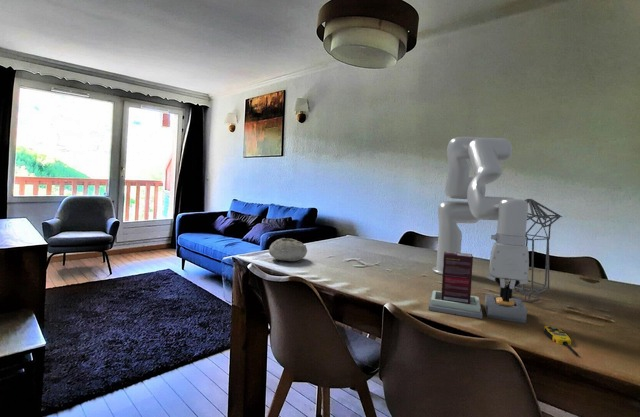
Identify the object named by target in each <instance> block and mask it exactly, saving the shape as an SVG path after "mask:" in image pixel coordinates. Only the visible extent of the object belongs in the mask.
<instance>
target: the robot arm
mask: <svg viewBox="0 0 640 417" xmlns="http://www.w3.org/2000/svg"><path fill="white" fill-rule="evenodd" d="M446 148H447V149H446V154H447V161H448V163H447V164H448V167H447V168H448V169H447V174H446V181H445V189H444V193H445V196H446V197H447V198H450V199H453V200H445V201H442V202H441V203H439V205H438V207H437V216H438V238H437V240H438V241H437V251H436V252H437V253H436V266H434V267H432V272H433V273H435V274H438V275H443V258H444V252H455V253H462V239H463V235H462V231H461V230H462V229H460V227H459V226H458V224H477V223H478V222H479V221H497V225H496V226H497V227H496V234H491V235H490V239H491V240H493V241H495V242H493V244H492V248H491V251H490V257H489V261H488V262H489V263H488V273H487V275H486V276H487V279H488V280H491V281H494V282H495V283H497V284H498V286H500V290H499V291H500V292H499V296H500V297H502V300H503V301H507V302H509V298H510V299H511V298H513V297H512V296H513V292H512V291H513V290H515V288H514V287H516V286H519V284H520V285H523V284H528V283H529V282H528V280H529V275H530V274H529V270H530V269H529V268H530V267H529V266H530V258H529V257H530V254H529V253H530V252H529V246H528V245H527V246H526V241H525V235H526V232H527V223H528V220H527V219H528V218H527V215H528V214H527V213H529V212H528V211H529V203H527V201H525V200H526V199H521V198H519V199H518V198H513V197H508V196H507V197H504V196H490V195H489V196H486V185H488V184H491V183H494V182H495V181H497V180H498V179H499V178H500V177H501V176H502V174H503V169H502V166H501V163H504V162H507V161H509V160H510V159H511V157H512V155H513V146H512V144H511V141H510V140H509V139H507V138H503V137H481V136H479V137H477V136H476V137H475V136H457V137H453V138H452V139H450V141H449V142H448V144H447V147H446ZM469 160H470V163H471V164H470V163H469ZM471 167H472V170H473V173H474V176H470V172H471ZM454 199H455V200H454ZM457 199H459V200H457ZM462 200H467V201H462ZM504 279H509V280H508V282H507V284H508V285H505V283H506V282H505V281H506V280H504Z"/></svg>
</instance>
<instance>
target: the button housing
mask: <svg viewBox="0 0 640 417" xmlns="http://www.w3.org/2000/svg"><path fill="white" fill-rule="evenodd" d="M484 296H485V297H484V310H485V314H486V318H490V319H495V320H501V321H506V322H507V321H508V322H514V323H519V324H527V318H528V317H527V316H528V315H527V314H528V309H527V307H526V306H525V303H524V301H523V300H521V299H522V298H520V299H517V298H514V297H512V298H511V299H512V300H514V301H515V303H514V306H512V305H505V304H499V303H496V298H497V297H500V295H494V294H493V295H492V294H487V293H485V295H484ZM509 299H510V298H509Z"/></svg>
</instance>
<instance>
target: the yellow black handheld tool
mask: <svg viewBox="0 0 640 417" xmlns="http://www.w3.org/2000/svg"><path fill="white" fill-rule="evenodd" d="M543 332H544V335H545V336H546V338H548V339H550V340H551V341H553V342H554V343H556V344H558V345H561V346H564V347H565V346H566V348H568V349H569V350H570V351H571V353H573V354H574V355H575V356H579V354H578V352H576V351H575V349H573V348H572V347H571V345H572V339H571V336H570V335H569V334H568V333H567V332H566V331H564V330H562V329H560V328H559V327H557V326H553V325H544V328H543Z"/></svg>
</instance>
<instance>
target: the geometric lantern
mask: <svg viewBox="0 0 640 417" xmlns="http://www.w3.org/2000/svg"><path fill="white" fill-rule="evenodd" d="M524 200H525V201H527V203H528V206H529V208H530V212H531V213H529V212H528V213H527V221H529V220H530V221H532V222H533V224H532V225H531V226H530V227H529V228H528V229H527V230H526V235H525V246H527V247H528V244H529V243H528V241H531V280H529V279H527V280H528V283H531V289H530V288H527V287H525V286H526V285H525V284H522V286H521V284H519V285H517V286H516V287H514V290H512V293H516V294H519V295H521V296H524V299H522V298H519V297H517V296H515V295H512V298H516V299H521V300H522V302H527V303H529V302H533V301H538V300H540V294H541V293H543V292H545V291H547V290H550V239H551V230H552V229H551V226H552V224H554V223H555V222H556V221H557V220H559V219H561V218H563V216H562V215H560V214H558V212H555V211H553V210H551V209H550V208H549V207H546V206H545V205H544V204H541V203H540V202H538V201H536V200H534V199H533V198H526V199H524ZM542 208H543V209H544V210H546V211H548V212H550V213H552V214H547V213H546V212H545V211H544V210H543V209H542ZM533 218H536V220H534V219H533ZM547 219H548V220H547ZM542 220H543V221H544V222H542ZM536 224H538V225H540V226H541V227H540V228H539V230H538V231H537V232H536V233H535V234H529V232H530V231H531V230H532V229H533V227H535V225H536ZM546 227H548V233H547V230H546ZM542 228H543V231H544V233H545V236H543V235H538V233H539V232H540V231H541V230H542ZM528 236H530V237H531V236H532V238H529V237H528ZM535 237H537V238H535ZM542 240H543V241H544V240H546V250H545V251H546V252H545V272H544V283H542V282H541V283H540V282H537V281H534V269H535V268H534V267H535V266H534V265H535V264H534V261H535V260H534V258H535V257H534V256H535V241H542ZM504 280H505V281H506V280H508V281H509V279H504ZM534 284H536V285H538V286H539V285H540V286H542V287H541V288H534ZM505 285H506V286H507V285H508V283H506V282H505ZM527 292H529V293H527ZM533 292H534V293H533ZM527 297H528V299H527ZM530 297H533V298H534V299H530Z"/></svg>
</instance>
